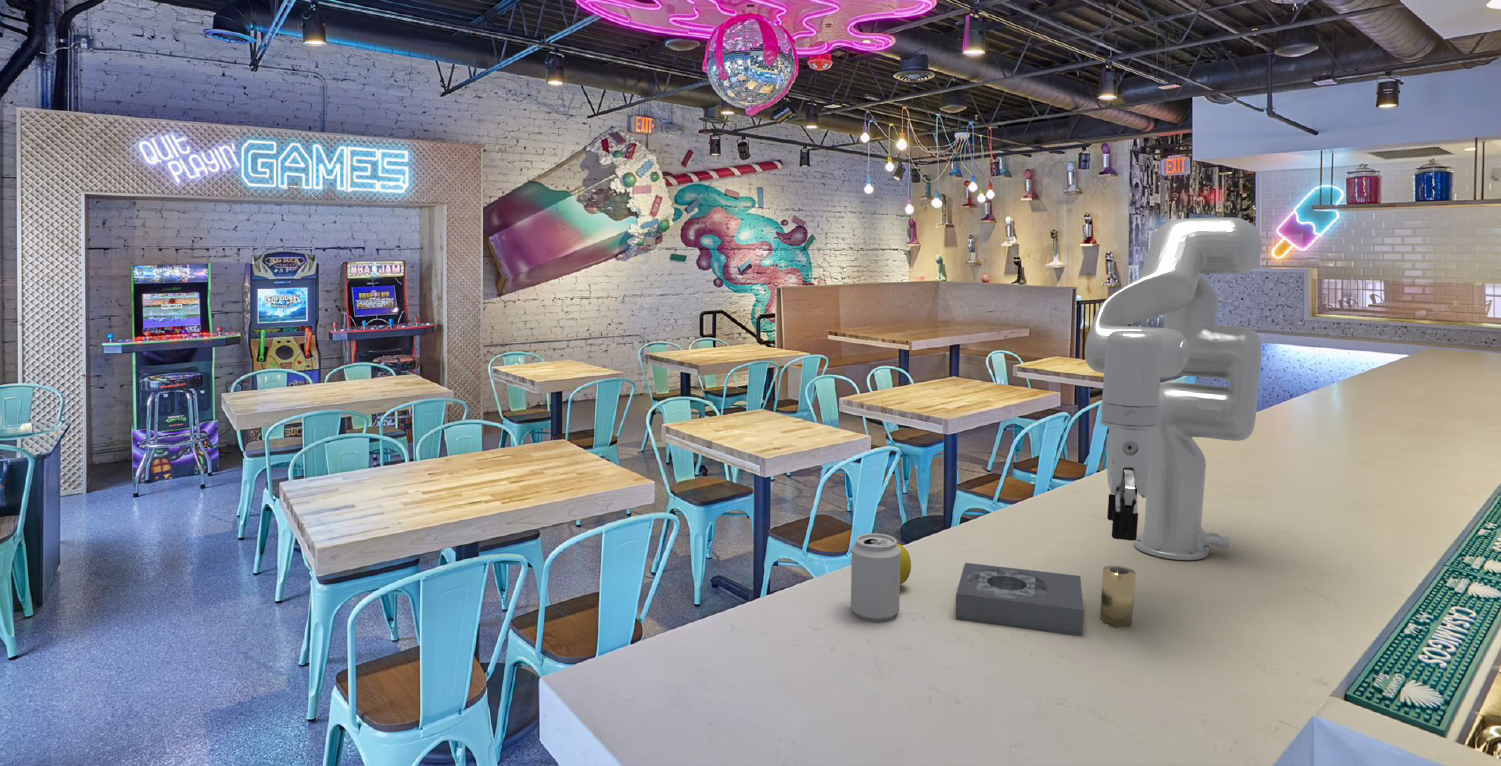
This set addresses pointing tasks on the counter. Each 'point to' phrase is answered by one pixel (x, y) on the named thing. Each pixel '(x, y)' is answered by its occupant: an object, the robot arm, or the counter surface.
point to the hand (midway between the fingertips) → (1121, 529)
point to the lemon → (904, 564)
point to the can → (875, 577)
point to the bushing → (1117, 596)
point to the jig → (1020, 598)
